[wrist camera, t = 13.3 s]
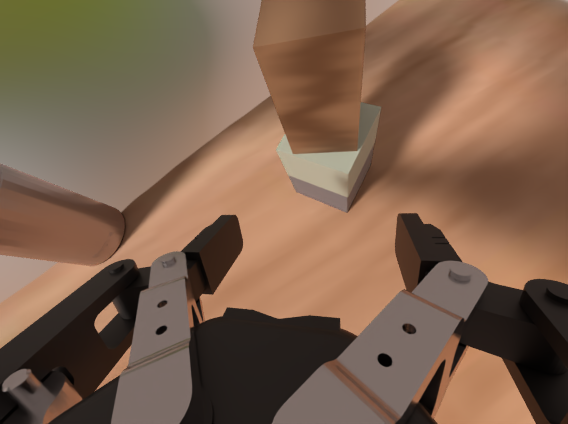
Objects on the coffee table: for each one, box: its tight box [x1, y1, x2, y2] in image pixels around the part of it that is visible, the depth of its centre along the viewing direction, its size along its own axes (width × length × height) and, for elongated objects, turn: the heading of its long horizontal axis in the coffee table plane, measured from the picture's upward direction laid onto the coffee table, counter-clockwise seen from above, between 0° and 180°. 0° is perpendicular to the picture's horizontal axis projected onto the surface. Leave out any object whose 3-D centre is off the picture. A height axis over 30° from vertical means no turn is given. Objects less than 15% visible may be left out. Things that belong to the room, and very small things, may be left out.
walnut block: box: [253, 0, 366, 154], centre depth 17 cm, size 6×6×10 cm
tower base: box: [288, 143, 375, 213], centre depth 28 cm, size 7×7×5 cm
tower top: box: [276, 102, 381, 197], centre depth 24 cm, size 7×7×5 cm
